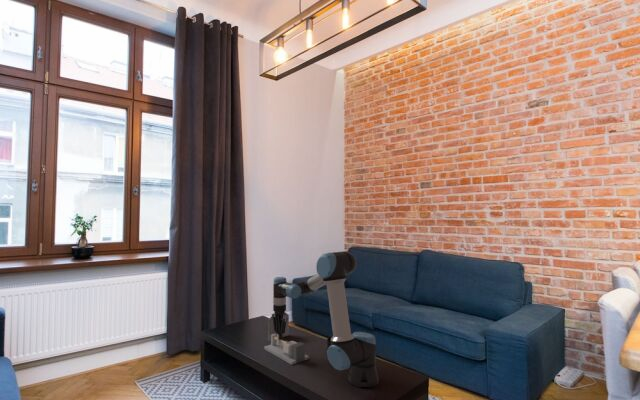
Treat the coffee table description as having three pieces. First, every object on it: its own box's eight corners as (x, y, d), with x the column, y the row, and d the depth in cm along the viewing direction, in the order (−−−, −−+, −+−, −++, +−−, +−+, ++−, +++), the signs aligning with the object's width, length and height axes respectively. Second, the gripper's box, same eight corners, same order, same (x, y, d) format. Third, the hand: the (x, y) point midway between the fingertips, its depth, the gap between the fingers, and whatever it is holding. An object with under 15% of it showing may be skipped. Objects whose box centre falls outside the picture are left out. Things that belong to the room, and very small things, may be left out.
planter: (281, 332, 245) (282, 303, 245) (288, 335, 239) (289, 306, 240) (261, 337, 234) (262, 308, 234) (268, 341, 228) (269, 310, 228)
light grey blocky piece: (308, 358, 202) (308, 342, 202) (291, 364, 194) (291, 348, 195) (280, 344, 223) (280, 329, 224) (264, 349, 216) (264, 334, 216)
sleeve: (297, 350, 204) (297, 343, 204) (288, 353, 200) (288, 345, 200) (292, 348, 208) (292, 340, 208) (283, 351, 203) (283, 343, 204)
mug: (337, 361, 199) (337, 345, 199) (323, 354, 208) (323, 339, 209) (349, 357, 205) (349, 341, 206) (335, 350, 215) (335, 335, 215)
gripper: (291, 305, 206) (291, 346, 206) (278, 300, 216) (278, 340, 215) (280, 307, 201) (280, 349, 201) (268, 302, 211) (267, 343, 210)
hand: (279, 344), depth 208 cm, fingers closed
